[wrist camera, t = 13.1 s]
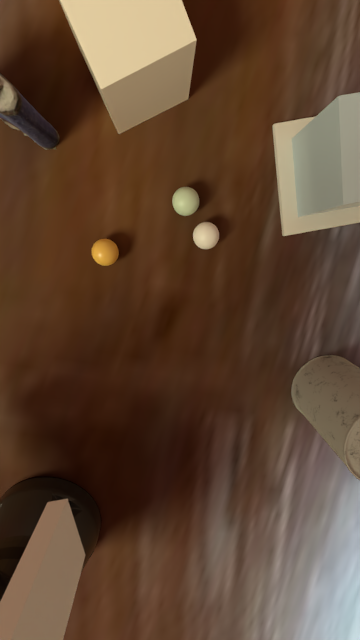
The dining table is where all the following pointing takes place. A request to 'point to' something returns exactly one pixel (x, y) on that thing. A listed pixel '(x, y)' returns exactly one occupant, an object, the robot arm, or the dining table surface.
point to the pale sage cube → (329, 158)
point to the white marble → (206, 235)
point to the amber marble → (105, 252)
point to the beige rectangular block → (135, 54)
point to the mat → (288, 189)
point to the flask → (25, 116)
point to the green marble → (185, 201)
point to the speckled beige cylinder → (332, 404)
